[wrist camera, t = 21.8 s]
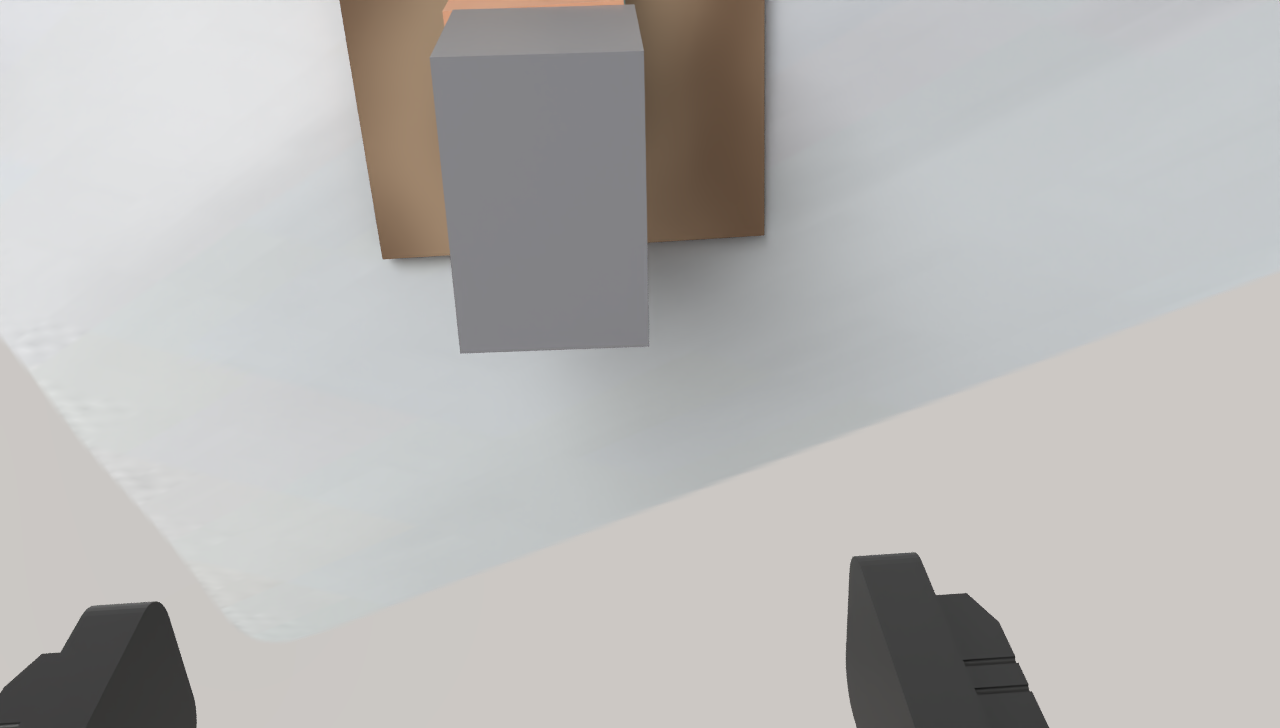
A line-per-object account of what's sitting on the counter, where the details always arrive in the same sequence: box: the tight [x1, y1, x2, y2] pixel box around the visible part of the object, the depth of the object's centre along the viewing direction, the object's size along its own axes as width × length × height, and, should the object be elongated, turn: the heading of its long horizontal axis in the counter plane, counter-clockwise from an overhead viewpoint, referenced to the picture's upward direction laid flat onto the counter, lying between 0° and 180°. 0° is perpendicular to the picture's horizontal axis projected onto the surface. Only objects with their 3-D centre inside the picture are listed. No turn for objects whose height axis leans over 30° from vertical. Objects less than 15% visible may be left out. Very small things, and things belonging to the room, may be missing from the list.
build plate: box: [340, 0, 765, 259], centre depth 38 cm, size 14×14×6 cm
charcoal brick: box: [430, 4, 649, 353], centre depth 28 cm, size 4×7×5 cm, turn 1°
